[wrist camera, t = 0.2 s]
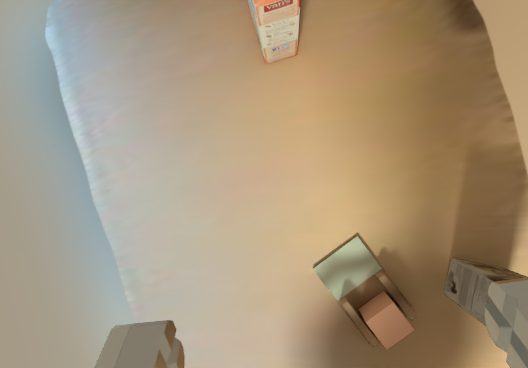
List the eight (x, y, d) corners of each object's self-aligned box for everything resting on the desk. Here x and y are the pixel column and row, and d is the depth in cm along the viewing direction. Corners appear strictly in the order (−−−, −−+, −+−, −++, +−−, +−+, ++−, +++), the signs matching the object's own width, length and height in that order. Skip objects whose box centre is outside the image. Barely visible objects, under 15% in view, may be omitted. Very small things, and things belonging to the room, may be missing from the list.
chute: (413, 309, 62) (421, 317, 59) (368, 342, 63) (373, 351, 59) (357, 235, 63) (360, 238, 59) (312, 268, 63) (314, 273, 60)
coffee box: (508, 267, 61) (584, 297, 45) (500, 307, 61) (574, 351, 45) (449, 256, 62) (505, 281, 46) (442, 295, 62) (494, 334, 46)
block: (402, 315, 62) (414, 330, 56) (377, 334, 62) (386, 350, 56) (383, 290, 62) (393, 302, 56) (358, 308, 62) (365, 322, 56)
